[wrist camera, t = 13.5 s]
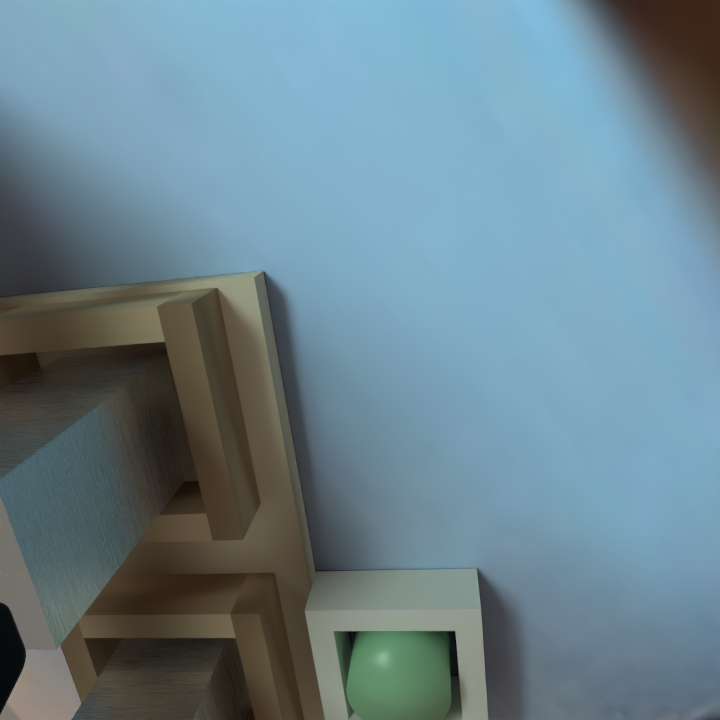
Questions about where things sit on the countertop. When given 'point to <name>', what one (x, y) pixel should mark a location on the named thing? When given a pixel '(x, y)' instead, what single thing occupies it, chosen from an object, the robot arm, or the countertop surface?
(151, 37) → the countertop surface
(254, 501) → the board
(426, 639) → the button
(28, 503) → the block
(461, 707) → the white flat square frame
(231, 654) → the block
